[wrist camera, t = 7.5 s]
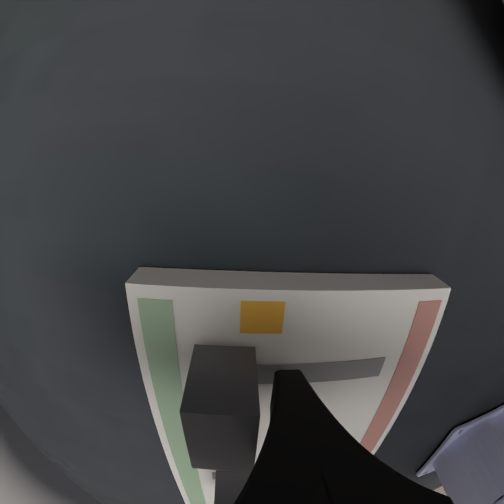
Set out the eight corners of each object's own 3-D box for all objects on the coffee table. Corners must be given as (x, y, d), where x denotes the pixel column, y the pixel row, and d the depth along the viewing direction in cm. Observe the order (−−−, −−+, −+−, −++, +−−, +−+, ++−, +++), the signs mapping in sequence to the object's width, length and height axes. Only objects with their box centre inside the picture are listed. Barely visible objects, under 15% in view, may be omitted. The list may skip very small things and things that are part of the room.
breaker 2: (253, 471, 12) (255, 516, 9) (251, 491, 13) (252, 529, 10) (215, 470, 12) (213, 515, 9) (218, 490, 13) (216, 529, 10)
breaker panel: (432, 273, 11) (452, 288, 9) (320, 507, 18) (323, 519, 17) (139, 266, 10) (124, 283, 9) (195, 510, 18) (194, 522, 16)
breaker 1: (255, 346, 9) (260, 415, 6) (250, 408, 10) (253, 470, 7) (194, 344, 9) (179, 411, 6) (200, 406, 10) (192, 467, 7)
